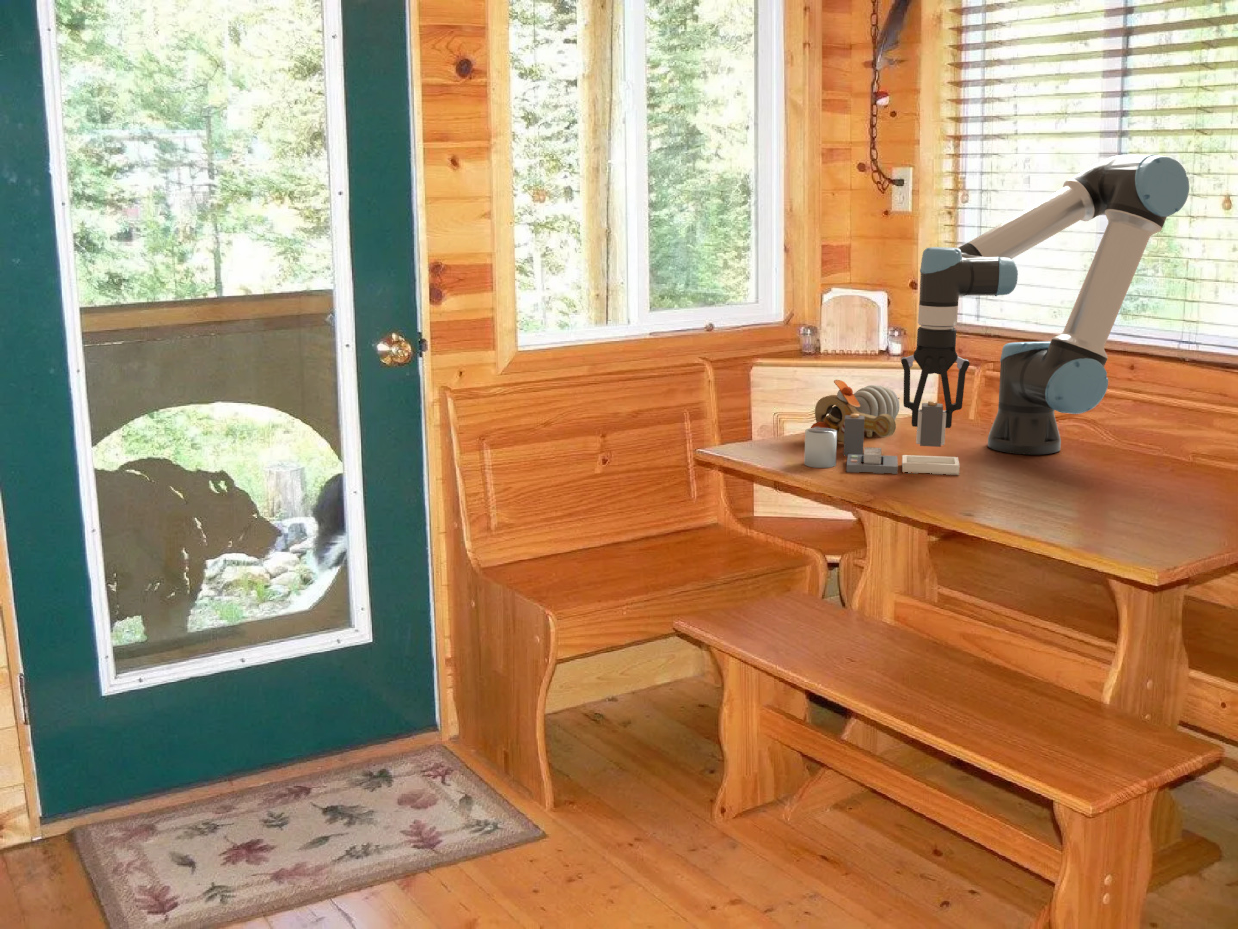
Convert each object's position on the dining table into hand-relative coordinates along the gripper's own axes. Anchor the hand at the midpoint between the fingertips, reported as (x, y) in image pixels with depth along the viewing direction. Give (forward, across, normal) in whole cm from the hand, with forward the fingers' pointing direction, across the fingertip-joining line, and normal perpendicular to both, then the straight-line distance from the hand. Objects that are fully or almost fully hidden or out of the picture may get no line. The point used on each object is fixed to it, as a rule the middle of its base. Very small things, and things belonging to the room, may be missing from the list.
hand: (930, 442), depth 283 cm
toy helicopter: (+6, +16, -21) cm, 27 cm away
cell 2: (0, 0, 0) cm, 0 cm away
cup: (+6, +22, -1) cm, 22 cm away
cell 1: (+6, +15, -12) cm, 20 cm away
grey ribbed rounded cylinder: (+6, +12, -35) cm, 37 cm away
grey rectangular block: (+4, +11, 0) cm, 12 cm away
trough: (+6, 0, 0) cm, 6 cm away
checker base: (+6, +11, 0) cm, 13 cm away
